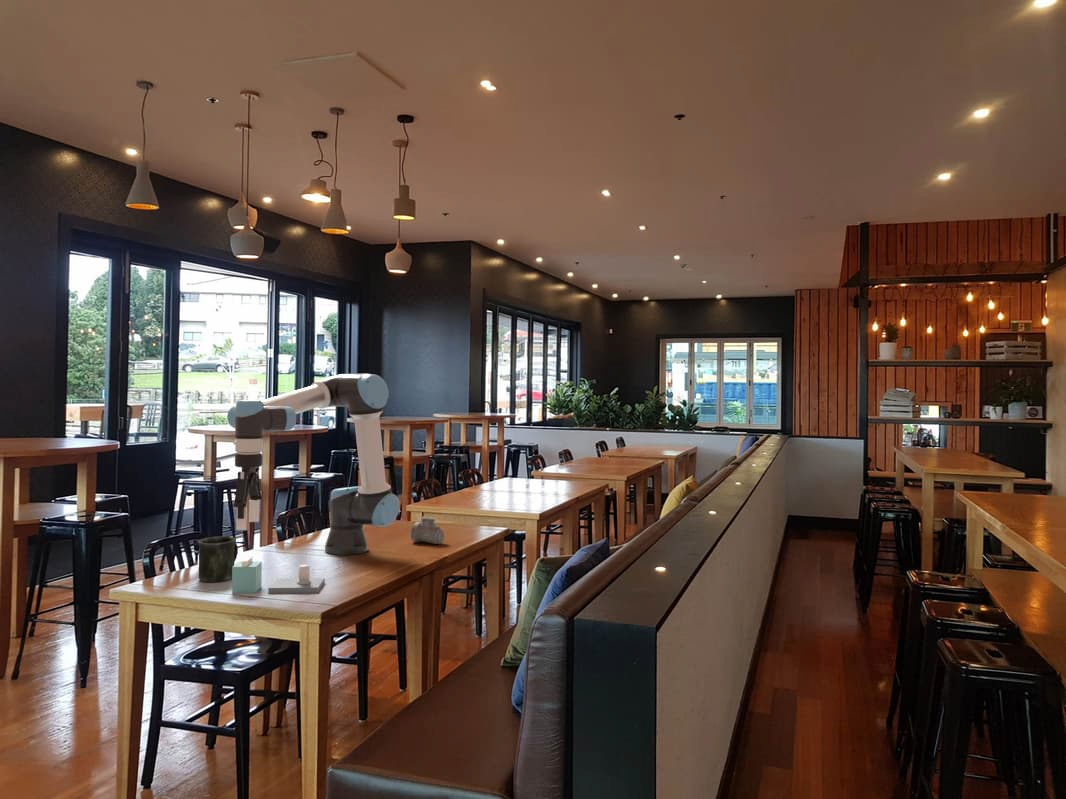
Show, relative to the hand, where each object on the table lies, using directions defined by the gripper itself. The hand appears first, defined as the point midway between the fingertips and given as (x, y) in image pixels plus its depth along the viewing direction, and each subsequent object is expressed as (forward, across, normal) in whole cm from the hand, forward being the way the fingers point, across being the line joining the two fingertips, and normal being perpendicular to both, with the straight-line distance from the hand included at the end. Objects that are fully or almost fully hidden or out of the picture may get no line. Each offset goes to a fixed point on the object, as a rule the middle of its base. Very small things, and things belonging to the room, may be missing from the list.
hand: (247, 525), depth 224 cm
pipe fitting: (+19, -66, +50) cm, 85 cm away
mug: (+19, -15, -12) cm, 27 cm away
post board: (+19, -2, +14) cm, 23 cm away
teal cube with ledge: (+19, 0, 0) cm, 19 cm away
